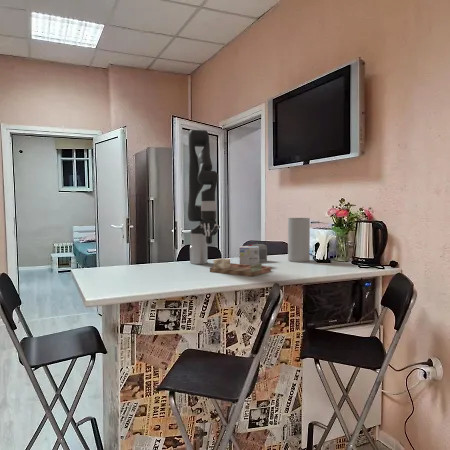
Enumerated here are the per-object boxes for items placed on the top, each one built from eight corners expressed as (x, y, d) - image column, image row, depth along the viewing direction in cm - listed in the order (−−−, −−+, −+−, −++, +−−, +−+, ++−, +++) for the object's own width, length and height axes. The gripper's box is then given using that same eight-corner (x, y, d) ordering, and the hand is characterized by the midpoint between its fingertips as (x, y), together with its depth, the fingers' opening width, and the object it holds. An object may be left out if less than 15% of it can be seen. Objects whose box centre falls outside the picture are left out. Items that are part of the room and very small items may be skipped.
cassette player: (242, 263, 229) (242, 245, 228) (240, 262, 231) (240, 245, 230) (266, 261, 235) (266, 244, 234) (264, 260, 237) (264, 243, 236)
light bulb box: (259, 265, 220) (259, 245, 219) (259, 267, 213) (259, 247, 213) (240, 265, 221) (239, 245, 220) (239, 267, 214) (239, 247, 214)
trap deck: (209, 271, 200) (209, 261, 200) (229, 266, 215) (229, 257, 214) (252, 276, 186) (252, 265, 186) (270, 270, 201) (270, 261, 200)
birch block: (213, 267, 200) (213, 259, 200) (220, 266, 205) (220, 258, 205) (223, 268, 197) (223, 260, 196) (230, 267, 202) (230, 259, 201)
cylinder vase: (313, 260, 235) (313, 218, 233) (302, 263, 225) (302, 218, 224) (295, 258, 243) (295, 217, 241) (283, 261, 233) (283, 218, 232)
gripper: (193, 210, 205) (194, 243, 205) (214, 210, 197) (215, 244, 198) (202, 210, 211) (203, 242, 211) (223, 209, 203) (223, 243, 204)
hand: (209, 243), depth 205 cm, fingers closed
